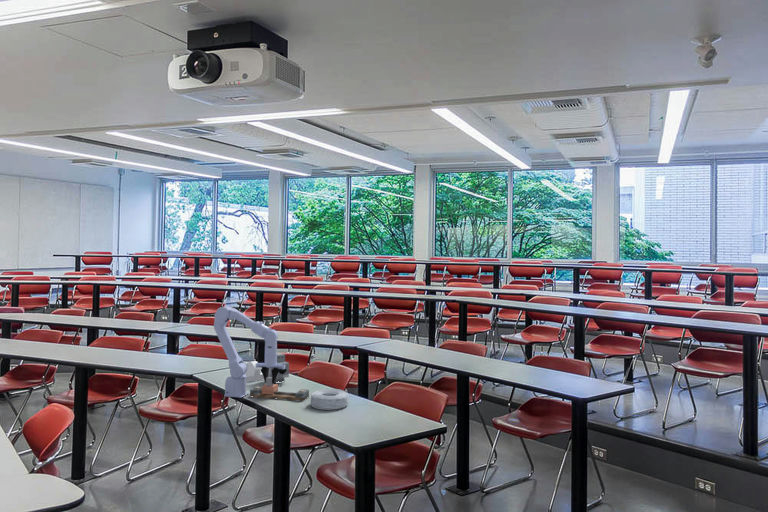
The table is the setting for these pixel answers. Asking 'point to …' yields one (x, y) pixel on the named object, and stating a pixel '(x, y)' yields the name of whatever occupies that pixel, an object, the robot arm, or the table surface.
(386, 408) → the table surface
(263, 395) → the rail
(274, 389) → the carriage
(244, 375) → the robot arm
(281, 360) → the circuit breaker
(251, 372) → the white slotted bracket
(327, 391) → the cable
